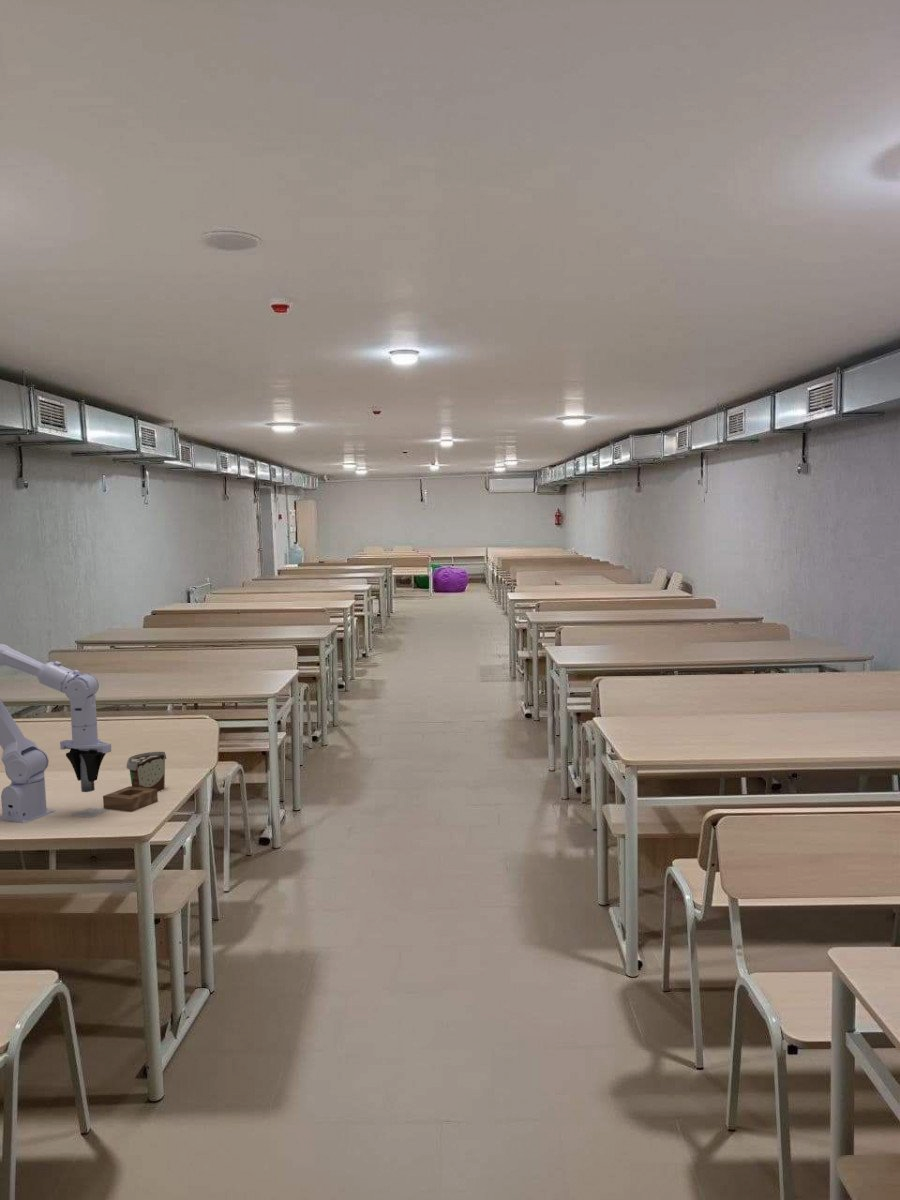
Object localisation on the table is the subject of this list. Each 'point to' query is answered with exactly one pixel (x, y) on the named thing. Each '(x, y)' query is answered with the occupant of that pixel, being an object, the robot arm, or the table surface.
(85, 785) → the peg
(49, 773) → the table surface
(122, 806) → the hole block
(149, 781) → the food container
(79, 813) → the mat
